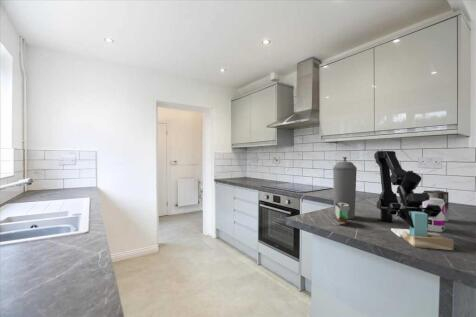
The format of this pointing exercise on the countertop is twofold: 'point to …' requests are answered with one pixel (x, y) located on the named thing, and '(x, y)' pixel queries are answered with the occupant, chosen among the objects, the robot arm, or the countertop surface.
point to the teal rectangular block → (418, 224)
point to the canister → (345, 185)
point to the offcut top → (434, 235)
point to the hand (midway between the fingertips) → (420, 227)
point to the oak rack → (429, 242)
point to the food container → (341, 213)
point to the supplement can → (439, 221)
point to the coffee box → (440, 195)
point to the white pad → (400, 231)
